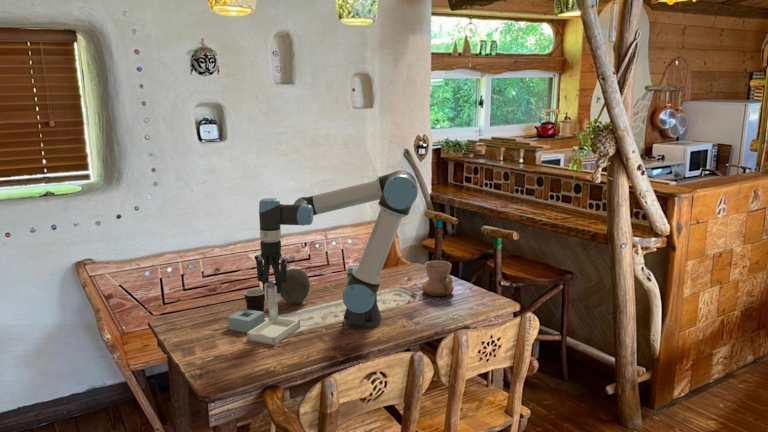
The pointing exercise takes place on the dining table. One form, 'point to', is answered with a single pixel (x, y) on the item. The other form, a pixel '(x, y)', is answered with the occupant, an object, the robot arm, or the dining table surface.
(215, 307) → the dining table surface
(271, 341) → the tray
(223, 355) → the dining table surface
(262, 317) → the block
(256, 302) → the coffee mug
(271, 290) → the pin
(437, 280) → the ceramic jug
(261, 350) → the dining table surface
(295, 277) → the cantaloupe
